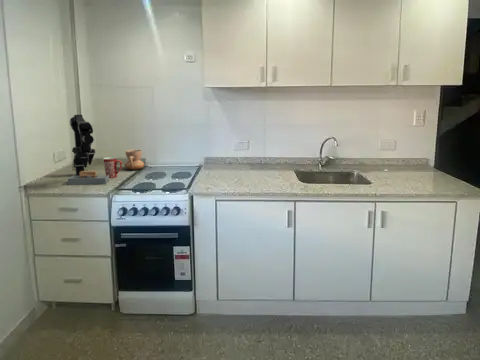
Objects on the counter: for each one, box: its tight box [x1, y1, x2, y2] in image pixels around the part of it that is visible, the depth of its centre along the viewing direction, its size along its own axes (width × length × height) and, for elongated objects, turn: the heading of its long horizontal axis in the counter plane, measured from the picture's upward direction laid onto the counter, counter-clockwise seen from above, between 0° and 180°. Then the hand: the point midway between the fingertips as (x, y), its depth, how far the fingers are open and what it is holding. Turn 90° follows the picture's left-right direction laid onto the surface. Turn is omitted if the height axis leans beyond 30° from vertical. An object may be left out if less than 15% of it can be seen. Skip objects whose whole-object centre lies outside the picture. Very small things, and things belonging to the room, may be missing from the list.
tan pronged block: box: [79, 170, 98, 178], centre depth 291 cm, size 4×10×6 cm, turn 92°
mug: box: [102, 156, 123, 179], centre depth 308 cm, size 13×9×14 cm
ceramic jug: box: [124, 149, 145, 171], centre depth 334 cm, size 18×14×14 cm
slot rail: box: [67, 174, 110, 186], centre depth 292 cm, size 9×24×4 cm, turn 92°
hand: (87, 166), depth 290 cm, fingers open, 9 cm apart
